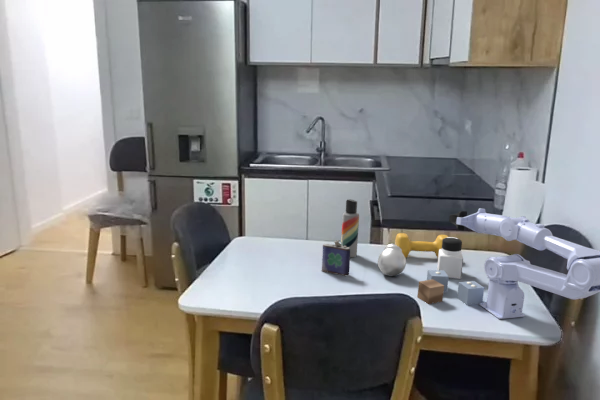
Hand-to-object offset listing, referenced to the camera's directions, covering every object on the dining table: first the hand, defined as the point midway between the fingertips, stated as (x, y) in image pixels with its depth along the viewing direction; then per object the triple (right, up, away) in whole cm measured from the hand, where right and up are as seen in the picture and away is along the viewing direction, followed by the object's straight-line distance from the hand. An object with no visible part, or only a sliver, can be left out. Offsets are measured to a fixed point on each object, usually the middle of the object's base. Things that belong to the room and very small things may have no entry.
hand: (460, 218), depth 162 cm
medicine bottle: (0, -19, +12) cm, 22 cm away
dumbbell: (-6, -15, +27) cm, 32 cm away
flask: (-37, -18, +10) cm, 42 cm away
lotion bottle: (-32, -14, +27) cm, 43 cm away
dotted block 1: (-7, -21, 0) cm, 22 cm away
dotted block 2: (0, -23, -8) cm, 25 cm away
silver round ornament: (-20, -18, +10) cm, 28 cm away
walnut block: (-11, -23, -8) cm, 27 cm away
